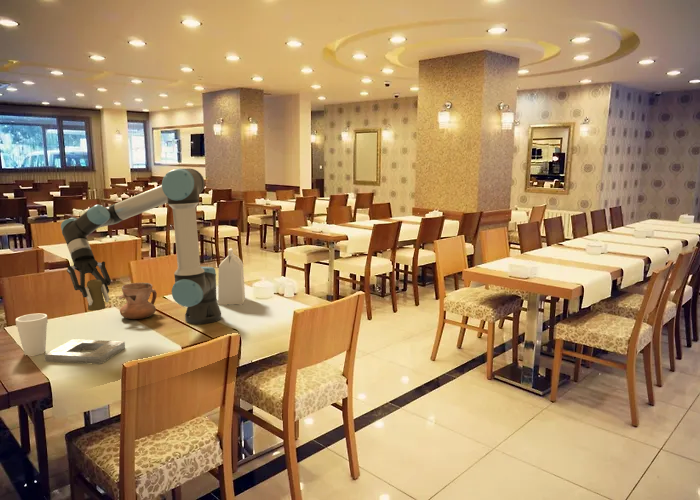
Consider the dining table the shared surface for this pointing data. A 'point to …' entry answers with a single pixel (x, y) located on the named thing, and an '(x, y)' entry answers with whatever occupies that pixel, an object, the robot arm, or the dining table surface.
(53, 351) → the plate
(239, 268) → the milk
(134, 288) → the ceramic jug
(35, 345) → the foam cup
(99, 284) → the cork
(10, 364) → the dining table surface
